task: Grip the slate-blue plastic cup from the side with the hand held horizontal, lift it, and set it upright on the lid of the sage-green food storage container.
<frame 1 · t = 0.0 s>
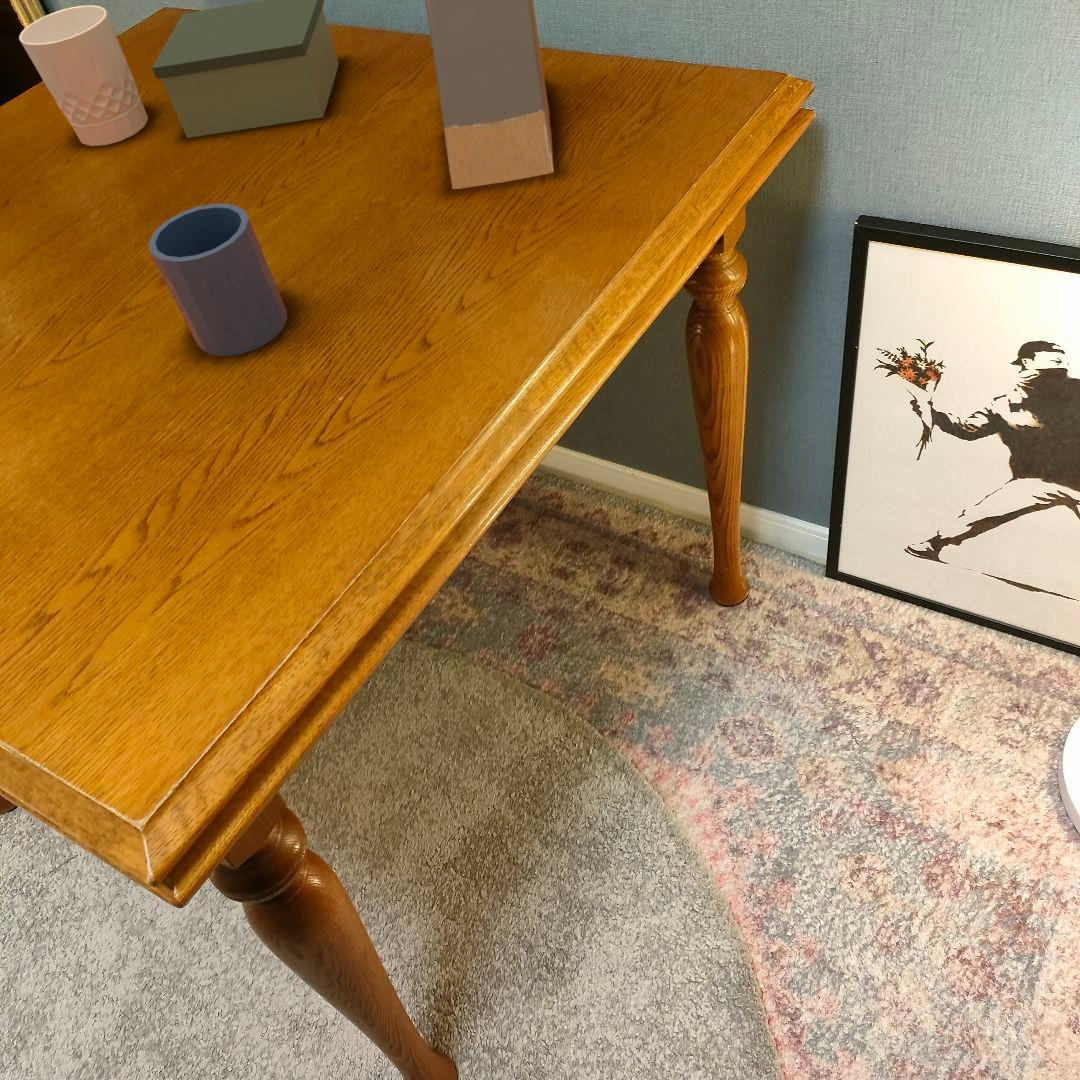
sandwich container: (501, 143, 84), on the table
storage box: (266, 103, 95), on the table
blue cup: (243, 330, 71), on the table
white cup: (116, 133, 96), on the table
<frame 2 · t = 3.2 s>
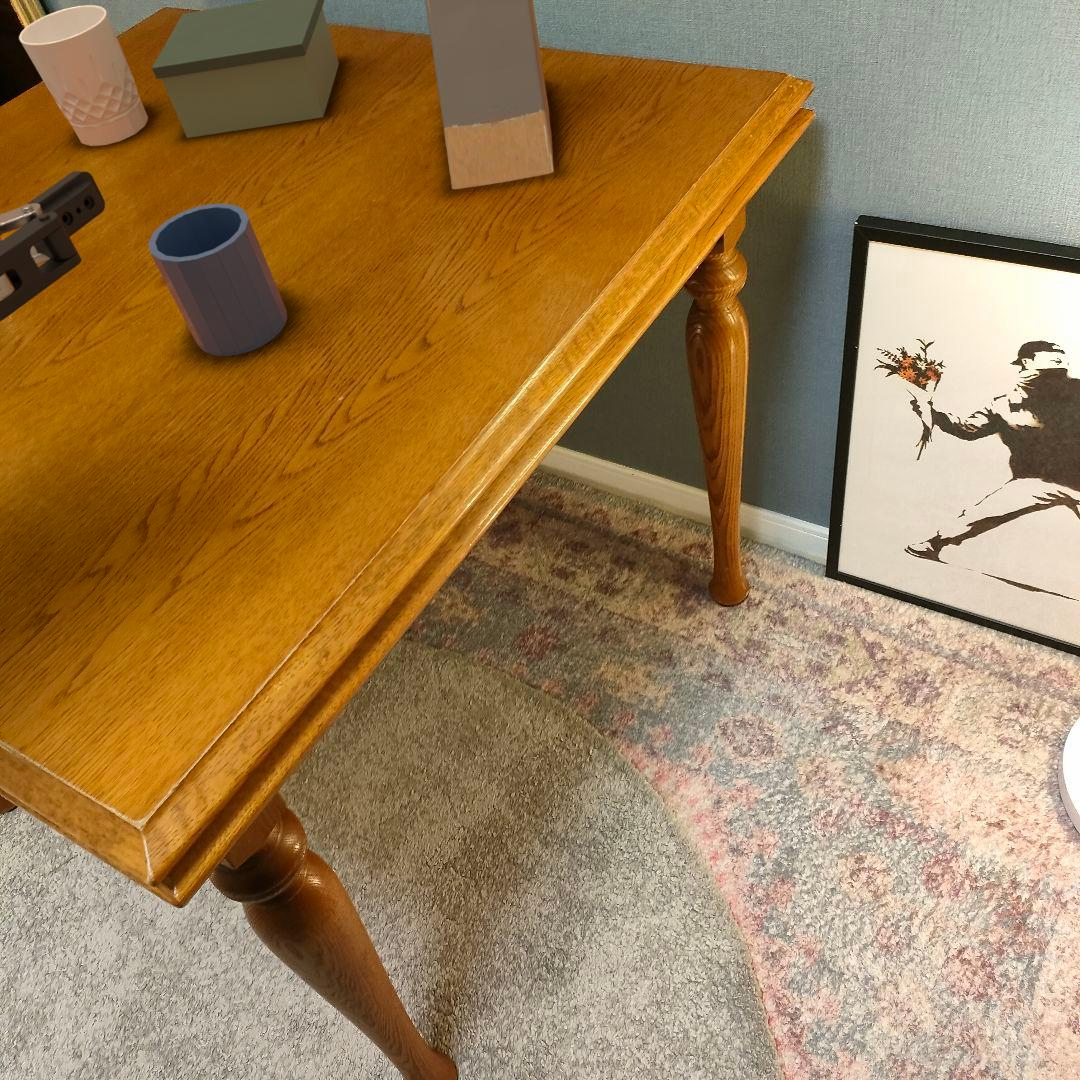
hand: (35, 183, 54), 17 cm above the table, tool horizontal, fingers open, 8 cm apart
nothing on the table moved.
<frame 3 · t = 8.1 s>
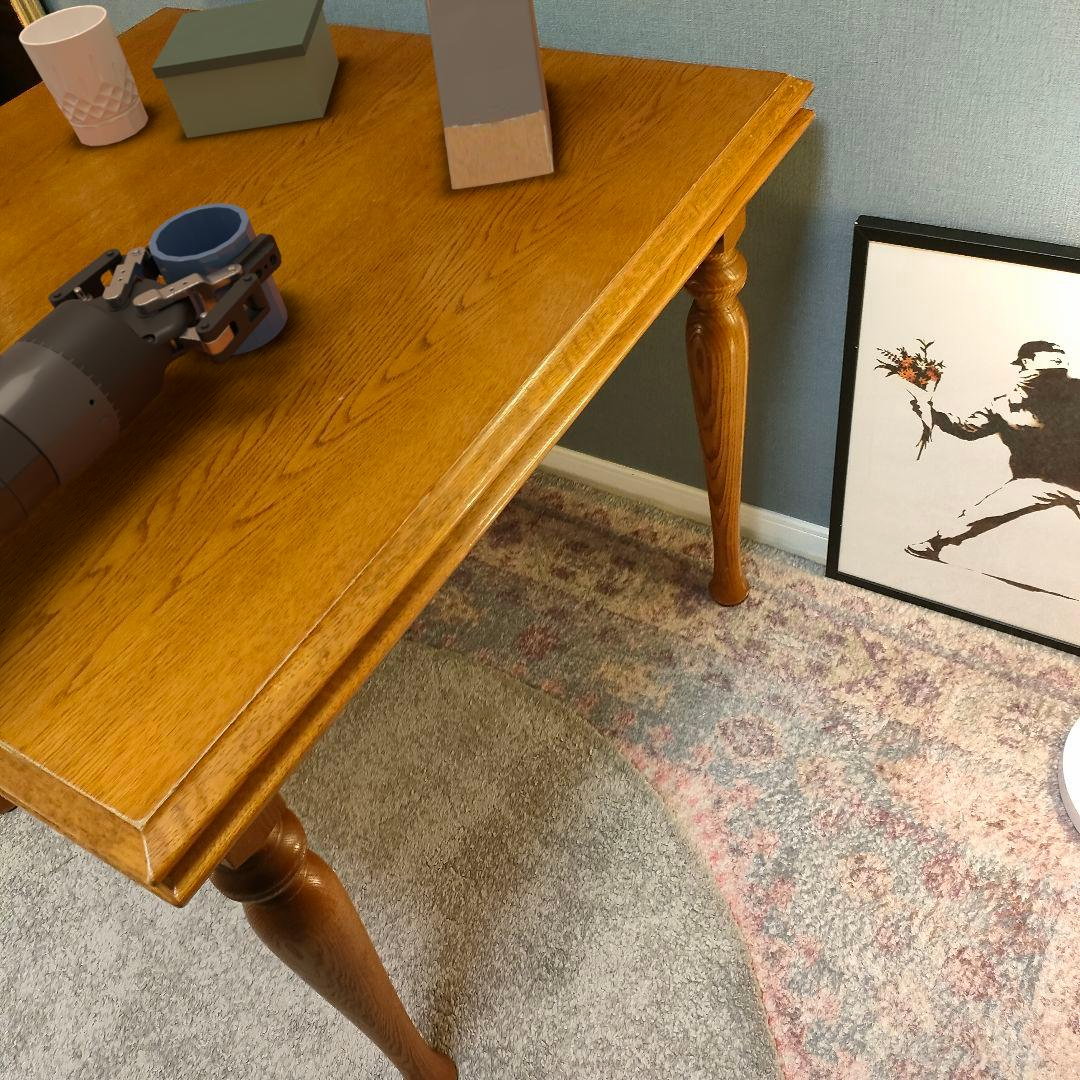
hand: (230, 238, 68), 6 cm above the table, tool horizontal, fingers closed on blue cup, 6 cm apart
blue cup: (244, 330, 71), on the table, touching gripper
everything else where it was.
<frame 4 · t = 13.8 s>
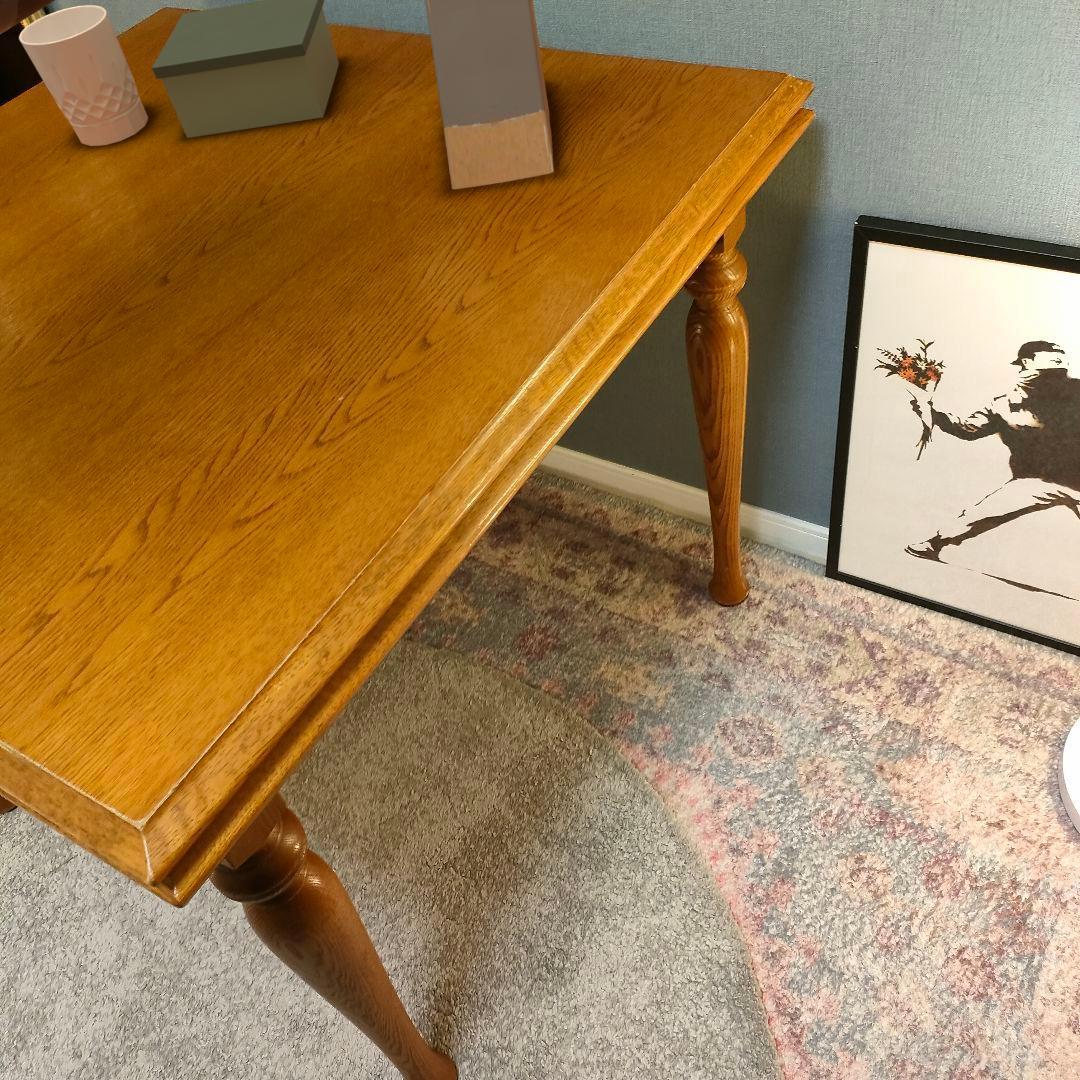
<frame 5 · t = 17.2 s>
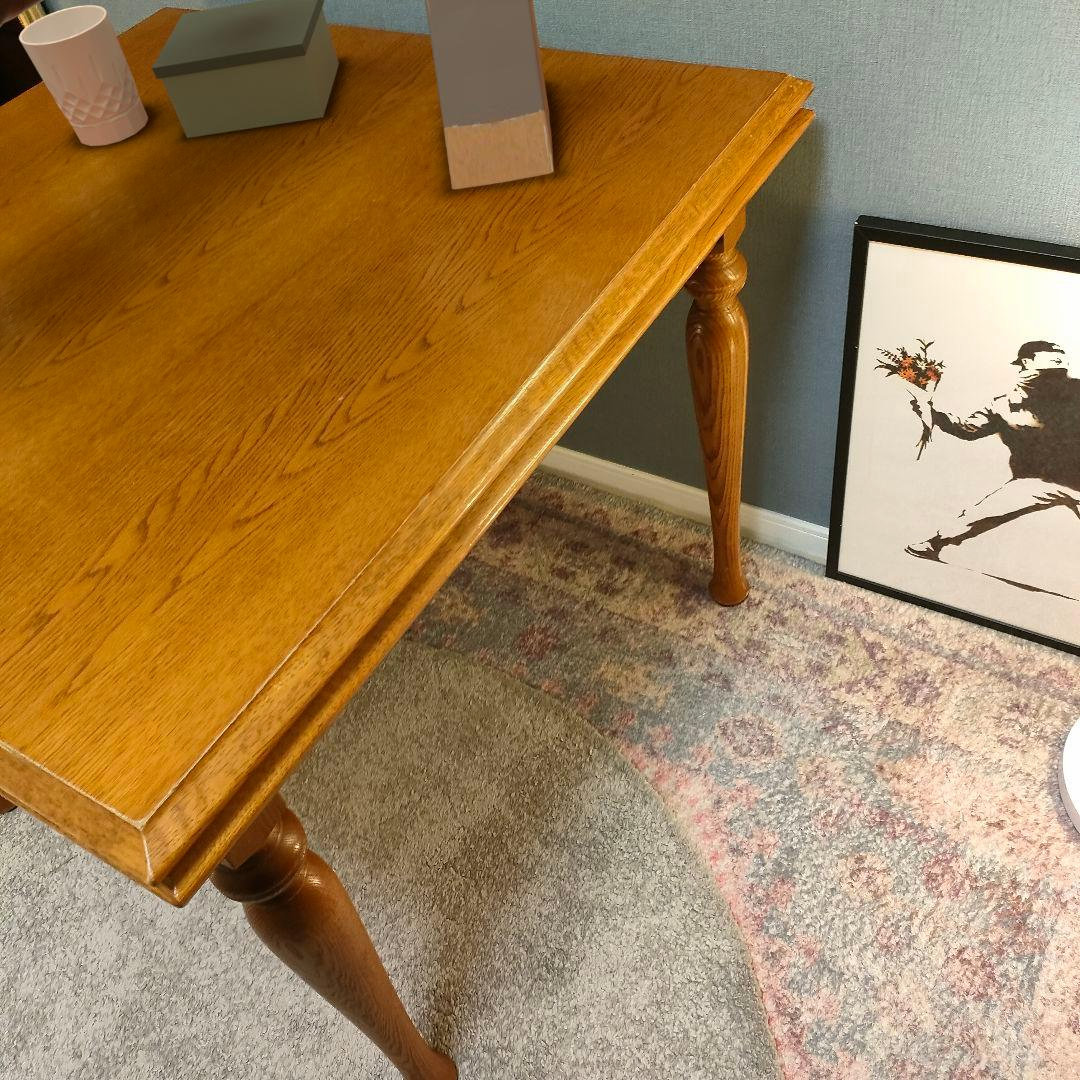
when the fingers open (13 cm above the table, at t = 19.8 s): blue cup stays where it is, resting on storage box.
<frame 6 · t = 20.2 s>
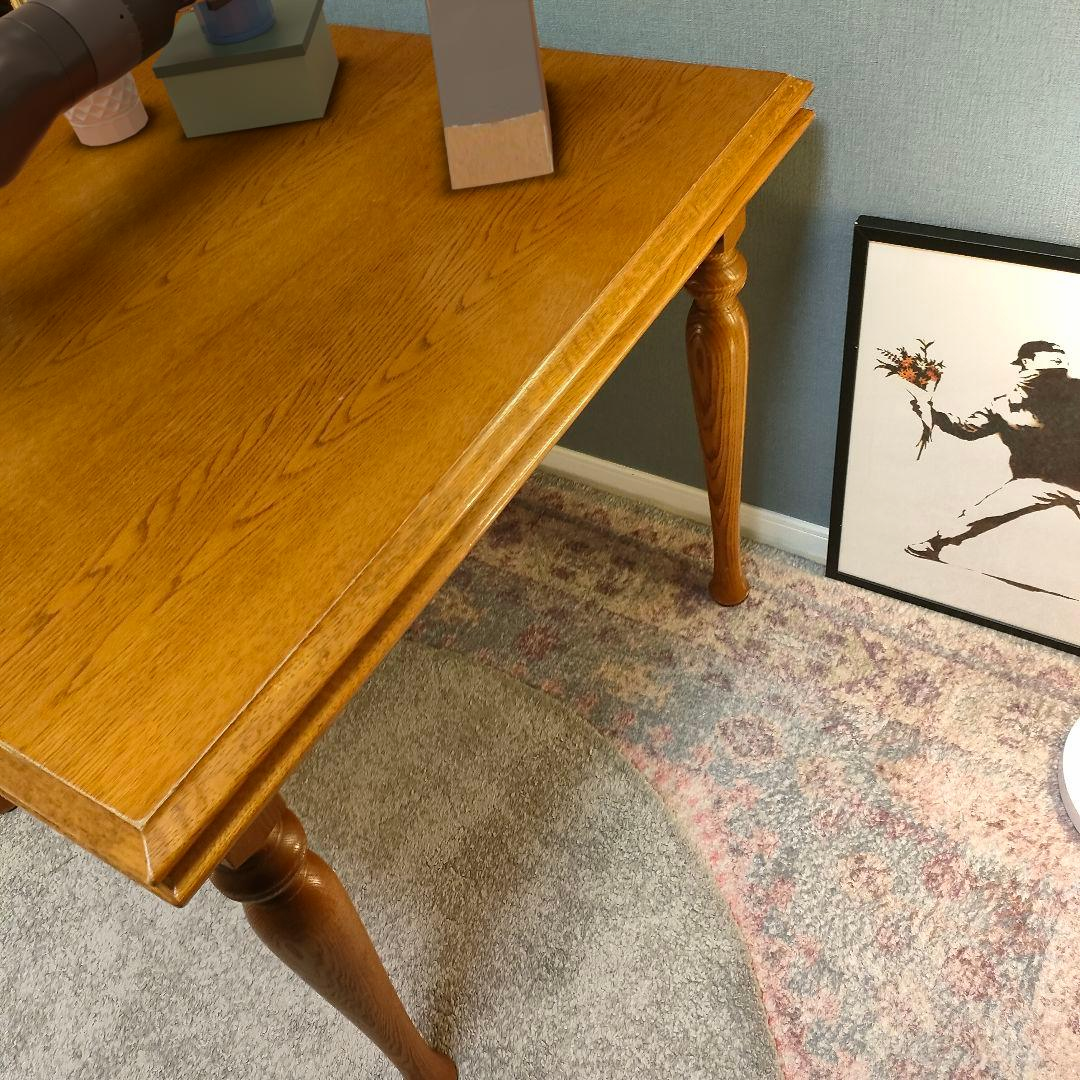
blue cup: (240, 27, 90), point 7 cm above the table, touching storage box
everything else where it was.
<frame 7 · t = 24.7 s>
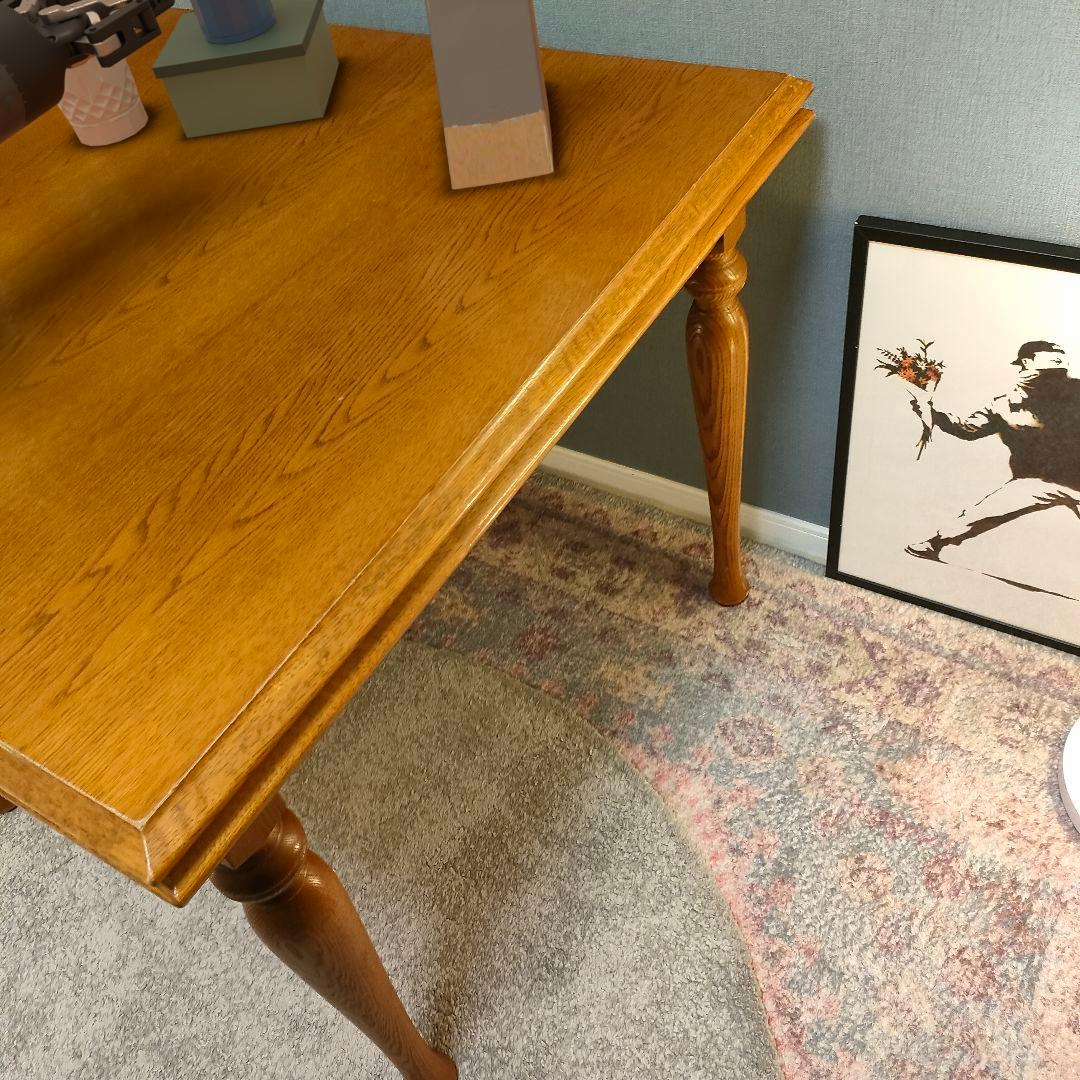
nothing on the table moved.
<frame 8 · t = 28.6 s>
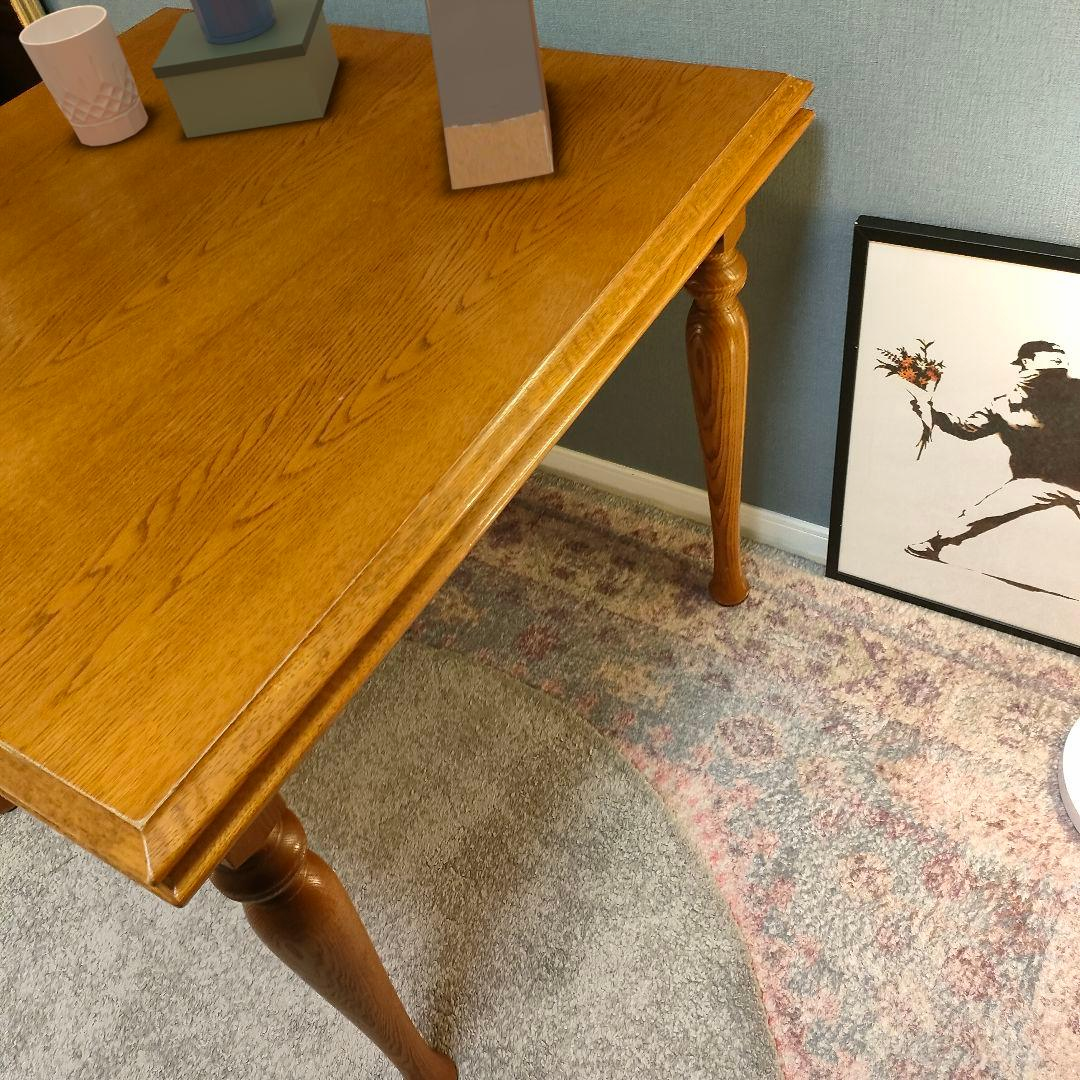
nothing on the table moved.
at the end: blue cup inside the target area on the storage box (0.1 cm from its centre), point 7.0 cm above the storage box's base; blue cup tilted 0°; the gripper is holding nothing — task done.
